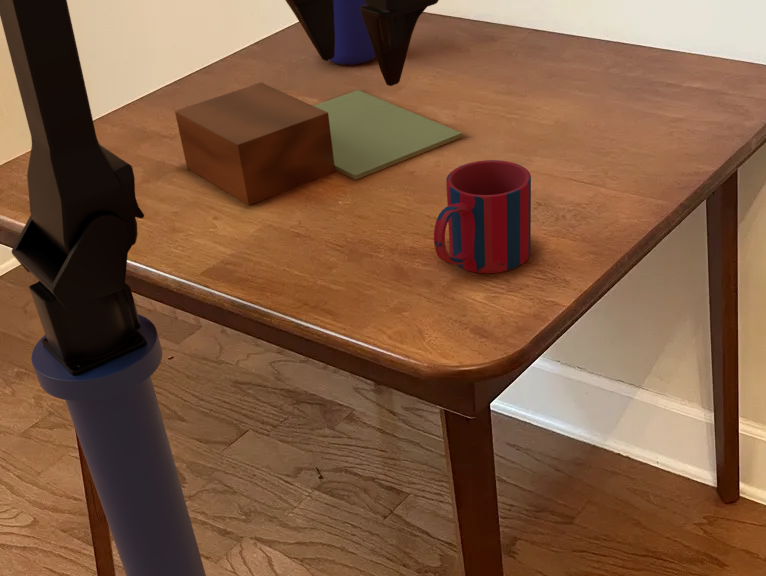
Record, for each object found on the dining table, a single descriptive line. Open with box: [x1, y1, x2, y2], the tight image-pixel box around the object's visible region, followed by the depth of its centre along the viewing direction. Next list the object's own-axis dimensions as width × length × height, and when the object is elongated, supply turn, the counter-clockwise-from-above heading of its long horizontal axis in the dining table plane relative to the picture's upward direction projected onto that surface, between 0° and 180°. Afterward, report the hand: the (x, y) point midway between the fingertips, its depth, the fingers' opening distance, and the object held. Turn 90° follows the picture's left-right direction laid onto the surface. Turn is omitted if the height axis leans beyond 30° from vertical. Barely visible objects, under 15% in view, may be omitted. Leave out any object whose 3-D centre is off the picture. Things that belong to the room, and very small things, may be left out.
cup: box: [433, 159, 532, 274], centre depth 82 cm, size 7×10×7 cm
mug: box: [329, 0, 376, 66], centre depth 123 cm, size 8×12×10 cm
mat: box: [313, 89, 463, 180], centre depth 107 cm, size 14×18×1 cm
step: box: [174, 82, 336, 206], centre depth 100 cm, size 10×12×6 cm
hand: (359, 71), depth 87 cm, fingers open, 9 cm apart
